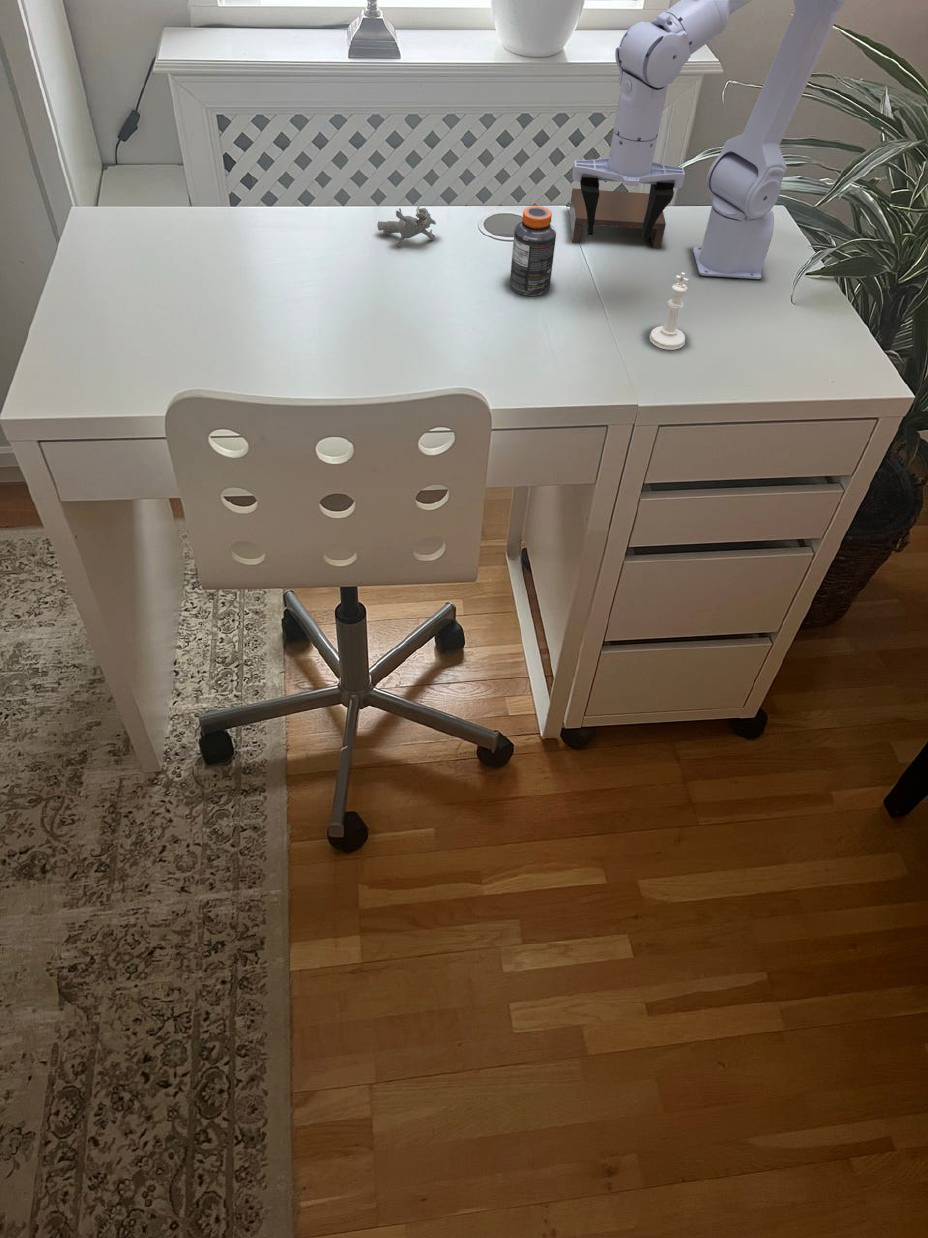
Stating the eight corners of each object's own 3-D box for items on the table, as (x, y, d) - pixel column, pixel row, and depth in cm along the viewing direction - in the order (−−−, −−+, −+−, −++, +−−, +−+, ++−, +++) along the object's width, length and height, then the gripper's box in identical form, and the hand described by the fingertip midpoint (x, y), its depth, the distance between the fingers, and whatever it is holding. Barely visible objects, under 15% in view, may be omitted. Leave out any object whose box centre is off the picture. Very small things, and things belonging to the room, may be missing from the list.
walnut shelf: (653, 217, 158) (659, 193, 155) (660, 248, 151) (666, 223, 148) (569, 212, 158) (572, 188, 155) (572, 242, 151) (575, 217, 148)
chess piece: (676, 354, 132) (693, 287, 125) (643, 341, 134) (658, 274, 126) (690, 337, 135) (707, 271, 127) (658, 326, 136) (673, 259, 129)
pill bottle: (550, 277, 144) (560, 203, 135) (548, 298, 140) (558, 223, 131) (510, 273, 144) (517, 199, 135) (507, 294, 140) (515, 219, 131)
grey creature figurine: (403, 221, 153) (450, 217, 148) (398, 259, 153) (444, 256, 148) (364, 195, 144) (412, 190, 140) (358, 235, 145) (406, 232, 140)
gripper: (580, 141, 120) (566, 244, 131) (696, 149, 121) (672, 251, 131) (578, 118, 125) (564, 219, 135) (689, 126, 125) (666, 226, 136)
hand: (617, 233), depth 133 cm, fingers open, 7 cm apart
